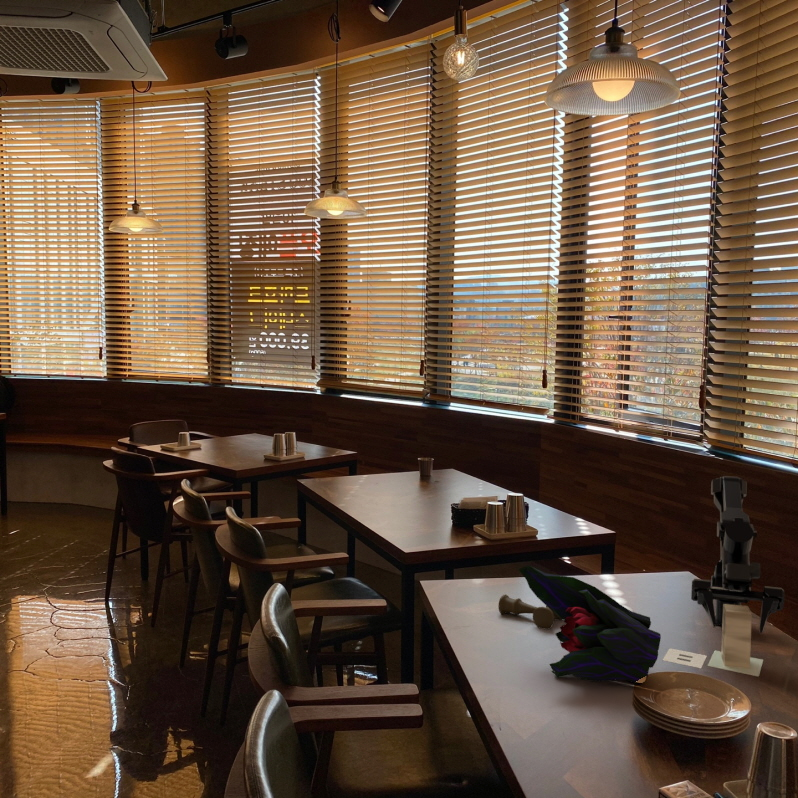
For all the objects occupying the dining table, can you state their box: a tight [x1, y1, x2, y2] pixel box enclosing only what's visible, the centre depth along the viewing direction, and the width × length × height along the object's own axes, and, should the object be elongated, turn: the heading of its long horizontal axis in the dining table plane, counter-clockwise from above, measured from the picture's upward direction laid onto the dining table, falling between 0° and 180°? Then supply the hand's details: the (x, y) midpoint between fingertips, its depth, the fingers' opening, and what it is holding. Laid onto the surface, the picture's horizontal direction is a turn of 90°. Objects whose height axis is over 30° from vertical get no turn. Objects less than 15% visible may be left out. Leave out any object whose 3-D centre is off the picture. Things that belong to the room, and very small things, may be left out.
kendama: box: [497, 594, 563, 630], centre depth 189 cm, size 6×10×20 cm
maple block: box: [721, 604, 753, 668], centre depth 163 cm, size 5×5×12 cm
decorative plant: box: [518, 565, 662, 684], centre depth 158 cm, size 21×26×30 cm
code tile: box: [662, 648, 708, 669], centre depth 166 cm, size 8×8×1 cm
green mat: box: [707, 650, 764, 677], centre depth 163 cm, size 10×10×1 cm
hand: (737, 629), depth 161 cm, fingers open, 9 cm apart
